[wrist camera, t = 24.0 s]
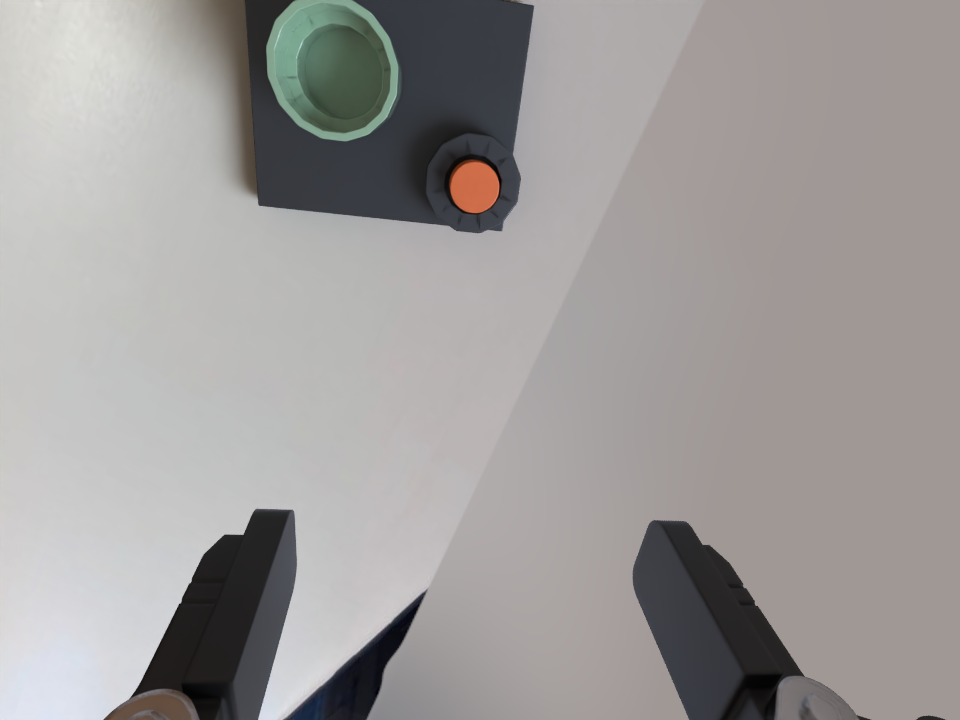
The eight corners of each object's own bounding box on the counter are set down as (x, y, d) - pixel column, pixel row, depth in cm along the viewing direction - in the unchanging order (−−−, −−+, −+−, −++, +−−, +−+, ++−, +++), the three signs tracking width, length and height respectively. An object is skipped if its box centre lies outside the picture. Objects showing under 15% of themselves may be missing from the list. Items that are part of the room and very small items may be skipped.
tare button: (499, 162, 32) (502, 164, 30) (492, 211, 33) (495, 215, 32) (451, 156, 31) (452, 158, 30) (446, 206, 33) (447, 210, 31)
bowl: (405, 20, 29) (401, 5, 24) (398, 141, 32) (394, 147, 27) (288, 2, 28) (262, -18, 24) (292, 128, 31) (270, 132, 26)
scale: (536, 11, 31) (547, 1, 28) (505, 227, 36) (512, 237, 34) (250, -38, 28) (231, -53, 26) (265, 201, 34) (250, 210, 31)
